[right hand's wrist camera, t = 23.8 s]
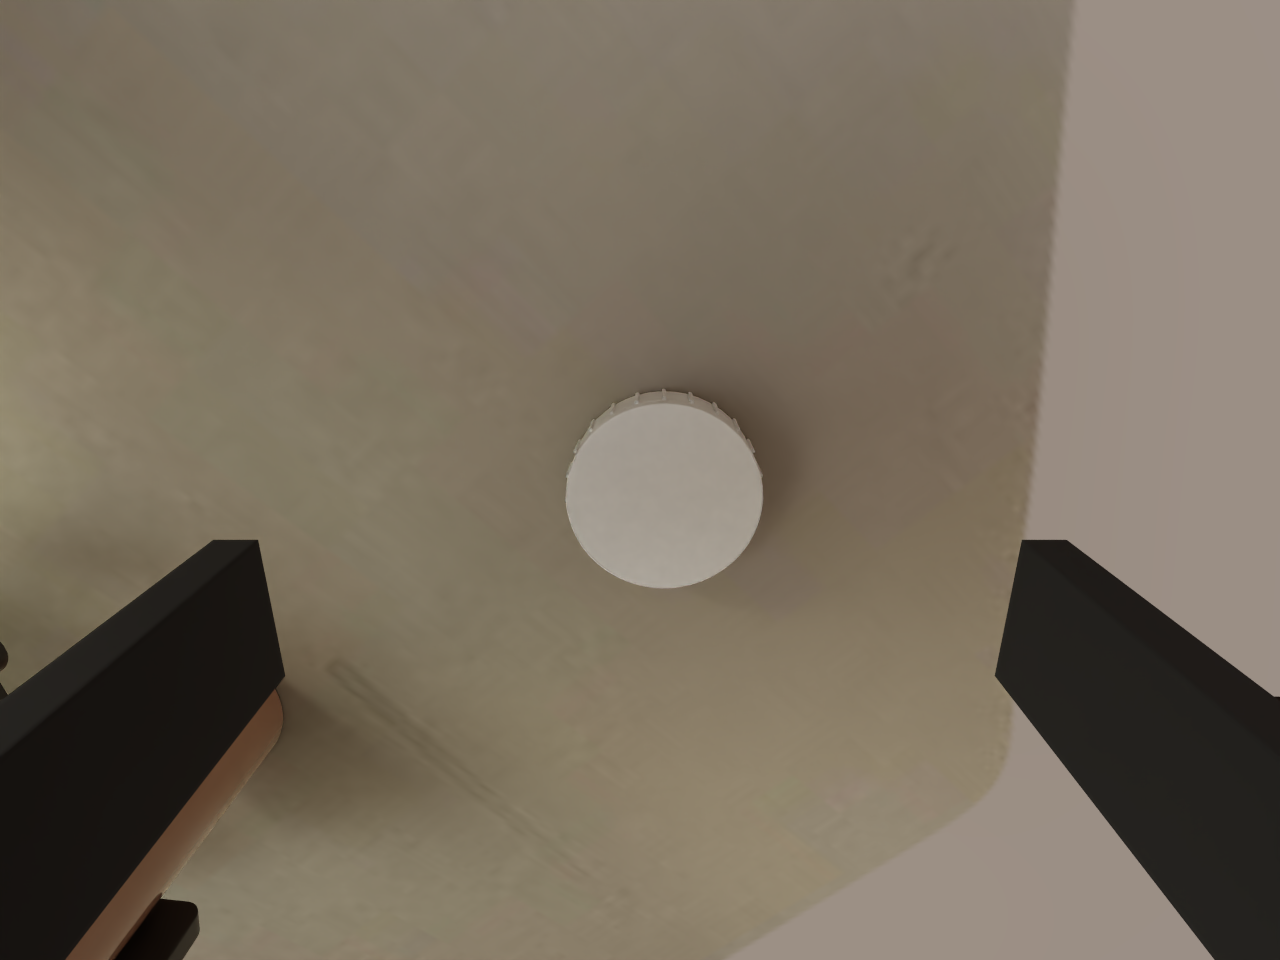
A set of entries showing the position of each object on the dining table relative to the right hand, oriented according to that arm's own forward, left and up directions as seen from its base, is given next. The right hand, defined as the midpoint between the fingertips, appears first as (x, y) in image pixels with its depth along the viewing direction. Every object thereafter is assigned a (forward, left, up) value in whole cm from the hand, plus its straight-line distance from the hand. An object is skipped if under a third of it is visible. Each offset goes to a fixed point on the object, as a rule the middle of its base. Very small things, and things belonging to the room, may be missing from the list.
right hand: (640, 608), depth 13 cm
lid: (0, -1, -8) cm, 8 cm away
